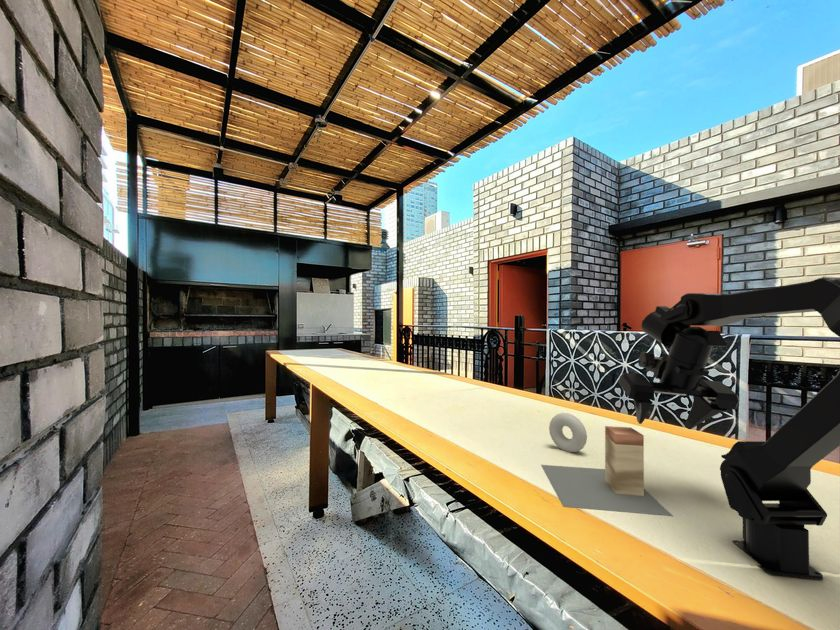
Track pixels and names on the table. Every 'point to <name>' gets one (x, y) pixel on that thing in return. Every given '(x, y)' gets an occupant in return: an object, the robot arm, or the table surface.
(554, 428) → the donut
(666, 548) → the table surface
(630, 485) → the pine block
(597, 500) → the rubber mat
